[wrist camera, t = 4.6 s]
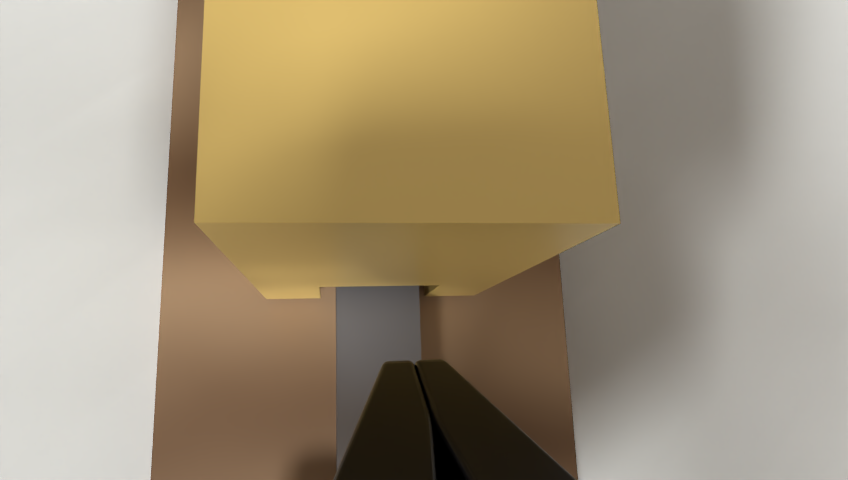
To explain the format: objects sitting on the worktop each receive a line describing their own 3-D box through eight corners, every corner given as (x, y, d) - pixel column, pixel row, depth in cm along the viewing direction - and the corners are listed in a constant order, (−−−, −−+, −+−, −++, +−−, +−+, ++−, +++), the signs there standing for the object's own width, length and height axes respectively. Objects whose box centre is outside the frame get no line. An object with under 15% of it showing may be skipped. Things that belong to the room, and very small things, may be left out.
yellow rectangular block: (474, 295, 16) (620, 224, 8) (266, 299, 15) (194, 222, 7) (464, 126, 17) (586, -90, 9) (269, 120, 16) (209, -125, 8)
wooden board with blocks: (573, 630, 16) (737, 809, 10) (153, 679, 15) (7, 935, 8) (517, -91, 21) (601, -297, 14) (195, -120, 19) (125, -370, 13)
